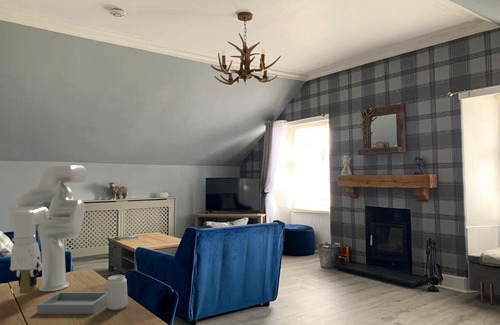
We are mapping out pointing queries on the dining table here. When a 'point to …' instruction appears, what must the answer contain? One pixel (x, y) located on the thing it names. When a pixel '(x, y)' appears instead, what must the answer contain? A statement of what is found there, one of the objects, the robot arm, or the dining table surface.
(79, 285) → the dining table surface
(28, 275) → the pepper mill
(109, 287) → the can
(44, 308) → the tray
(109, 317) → the dining table surface
